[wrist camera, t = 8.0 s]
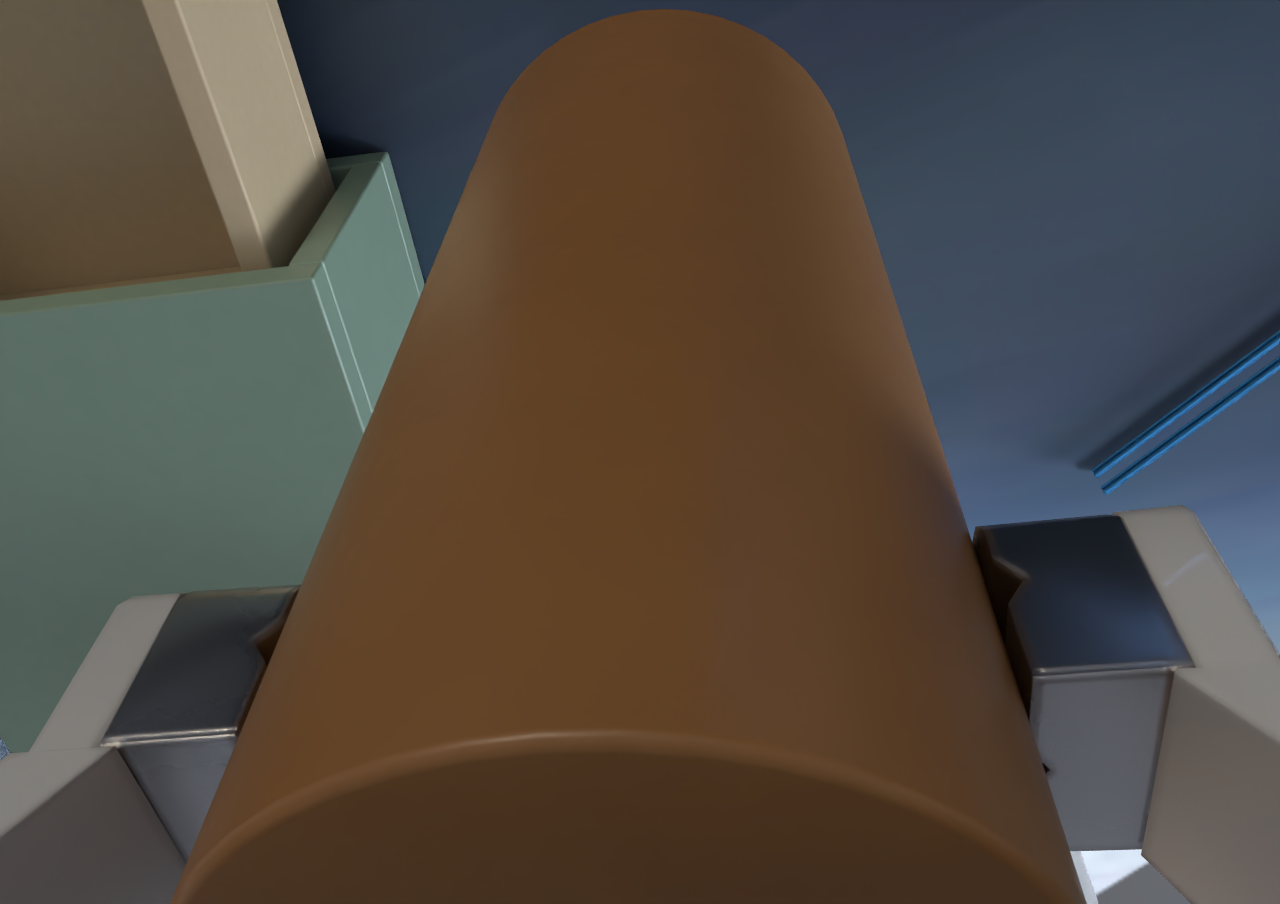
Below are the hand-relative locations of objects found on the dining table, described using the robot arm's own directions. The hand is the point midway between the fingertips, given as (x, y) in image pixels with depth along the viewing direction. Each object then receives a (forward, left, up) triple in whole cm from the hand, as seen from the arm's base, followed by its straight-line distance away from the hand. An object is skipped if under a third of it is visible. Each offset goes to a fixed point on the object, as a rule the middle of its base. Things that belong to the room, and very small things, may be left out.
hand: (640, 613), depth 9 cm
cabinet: (+12, -16, -25) cm, 32 cm away
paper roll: (0, 0, -9) cm, 9 cm away
